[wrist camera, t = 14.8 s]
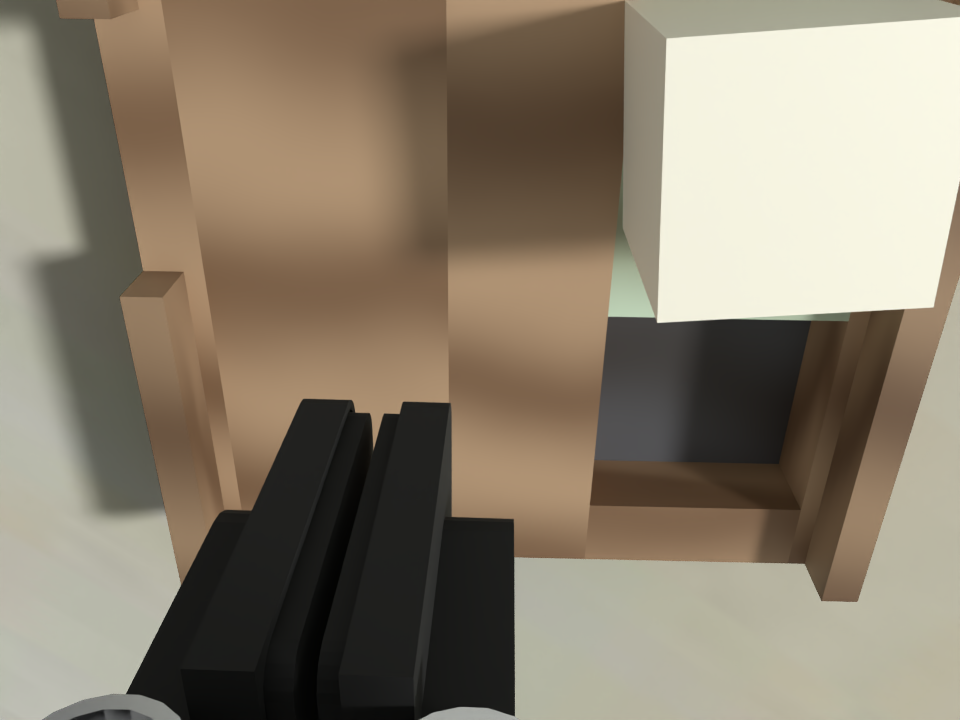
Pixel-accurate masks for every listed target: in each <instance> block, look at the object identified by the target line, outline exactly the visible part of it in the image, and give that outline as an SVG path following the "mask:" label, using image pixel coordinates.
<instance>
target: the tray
mask: <svg viewBox="0 0 960 720" xmlns="http://www.w3.org/2000/svg"><path fill="white" fill-rule="evenodd" d="M941 1H945V2H948V3H952V4H956V5H960V0H941ZM56 3H57V7H58V12H59V17H60V18H61V19H94V23H95V28H96V33H97V38H98V43H99V48H100V53H101V58H102V63H103V69H104V74H105V79H106V84H107V89H108V94H109V99H110V104H111V109H112V114H113V120H114V125H115V130H116V135H117V140H118V145H119V150H120V155H121V160H122V165H123V171H124V176H125V181H126V186H127V191H128V196H129V201H130V206H131V211H132V216H133V222H134V227H135V232H136V237H137V242H138V247H139V252H140V257H141V262H142V267H143V272H142V273H141V274H140V275H139V276H138V277H137V278H136V279H135V280H134V281H133V283H132V284H131V285H130V286H129V287H128V288H127V289H126V290H125V291H124V292H123V293H122V295H121V296H120V302H121V306H122V311H123V316H124V320H125V325H126V330H127V334H128V339H129V344H130V348H131V353H132V358H133V362H134V367H135V372H136V376H137V381H138V386H139V390H140V395H141V400H142V404H143V409H144V414H145V418H146V423H147V428H148V432H149V437H150V442H151V446H152V451H153V456H154V460H155V465H156V470H157V474H158V479H159V484H160V488H161V493H162V498H163V502H164V507H165V512H166V516H167V521H168V526H169V530H170V535H171V540H172V544H173V549H174V554H175V558H176V563H177V568H178V572H179V577H180V582H181V585H182V583H183V581H184V579H185V577H186V575H187V573H188V571H189V569H190V567H191V565H192V563H193V561H194V559H195V557H196V555H197V553H198V551H199V549H200V547H201V545H202V543H203V542H204V540H205V538H206V536H207V534H208V532H209V530H210V528H211V526H212V524H213V522H214V520H215V519H216V517H217V516H218V514H219V513H220V512H222V511H224V510H252V509H253V506H254V504H255V502H256V500H257V497H258V495H259V493H260V491H261V489H262V486H263V484H264V482H265V480H266V478H267V475H268V473H269V471H270V469H271V467H272V464H273V462H274V460H275V458H276V455H277V453H278V451H279V449H280V447H281V444H282V442H283V440H284V438H285V436H286V433H287V431H288V429H289V427H290V424H291V422H292V420H293V418H294V416H295V413H296V411H297V409H298V407H299V405H300V403H301V401H302V400H303V399H336V400H352V401H353V403H354V407H355V413H370V415H371V419H372V430H373V450H374V447H375V443H376V439H377V436H378V432H379V428H380V424H381V421H382V417H383V414H385V413H388V414H400V410H401V406H402V403H403V402H404V401H405V402H440V403H451V411H452V517H470V518H501V519H514V557H528V558H573V559H618V560H663V561H708V562H753V563H798V564H805V566H806V568H807V570H808V572H809V574H810V577H811V579H812V581H813V583H814V585H815V588H816V590H817V592H818V594H819V596H820V599H821V601H843V602H857V601H858V598H859V595H860V592H861V589H862V585H863V582H864V579H865V576H866V573H867V570H868V566H869V563H870V560H871V557H872V554H873V550H874V547H875V544H876V541H877V538H878V534H879V531H880V528H881V525H882V522H883V519H884V515H885V512H886V509H887V506H888V503H889V499H890V496H891V493H892V490H893V487H894V484H895V480H896V477H897V474H898V471H899V468H900V464H901V461H902V458H903V455H904V452H905V448H906V445H907V442H908V439H909V436H910V433H911V429H912V426H913V423H914V420H915V417H916V413H917V410H918V407H919V404H920V401H921V397H922V394H923V391H924V388H925V385H926V382H927V378H928V375H929V372H930V369H931V366H932V362H933V359H934V356H935V353H936V350H937V346H938V343H939V340H940V337H941V334H942V331H943V327H944V324H945V321H946V318H947V315H948V311H949V308H950V305H951V302H952V299H953V295H954V292H955V289H956V286H957V283H958V280H959V276H960V182H959V187H958V192H957V197H956V201H955V206H954V211H953V216H952V221H951V225H950V230H949V235H948V240H947V245H946V250H945V254H944V259H943V264H942V269H941V274H940V278H939V283H938V288H937V293H936V298H935V302H934V307H932V308H914V309H896V310H878V311H861V312H843V313H825V314H807V315H789V316H772V317H754V318H736V319H718V320H700V321H682V322H665V323H657V321H656V318H655V315H654V313H653V310H652V307H651V304H650V302H649V299H648V296H647V293H646V291H645V288H644V285H643V282H642V280H641V277H640V274H639V271H638V269H637V266H636V263H635V260H634V258H633V255H632V252H631V249H630V247H629V244H628V241H627V238H626V236H625V233H624V230H623V139H624V38H625V0H56Z"/></svg>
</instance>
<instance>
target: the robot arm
mask: <svg viewBox="0 0 960 720" xmlns="http://www.w3.org/2000/svg"><path fill="white" fill-rule="evenodd" d="M43 720H519V719H518V718H516V717H515V635H514V519H501V518H470V517H452V411H451V403H440V402H405V401H404V402H403V403H402V406H401V410H400V414H388V413H385V414H383V417H382V421H381V424H380V428H379V432H378V436H377V439H376V443H375V447H374V450H373V430H372V419H371V415H370V413H355V407H354V403H353V401H352V400H336V399H303V400H302V401H301V403H300V405H299V407H298V409H297V411H296V413H295V416H294V418H293V420H292V422H291V424H290V427H289V429H288V431H287V433H286V436H285V438H284V440H283V442H282V444H281V447H280V449H279V451H278V453H277V455H276V458H275V460H274V462H273V464H272V467H271V469H270V471H269V473H268V475H267V478H266V480H265V482H264V484H263V486H262V489H261V491H260V493H259V495H258V497H257V500H256V502H255V504H254V506H253V509H252V510H224V511H222V512H220V513H219V514H218V516H217V517H216V519H215V520H214V522H213V524H212V526H211V528H210V530H209V532H208V534H207V536H206V538H205V540H204V542H203V543H202V545H201V547H200V549H199V551H198V553H197V555H196V557H195V559H194V561H193V563H192V565H191V567H190V569H189V571H188V573H187V575H186V577H185V579H184V581H183V583H182V585H181V587H180V589H179V591H178V593H177V595H176V597H175V599H174V601H173V603H172V604H171V606H170V608H169V610H168V612H167V614H166V616H165V618H164V620H163V622H162V624H161V626H160V628H159V630H158V632H157V634H156V636H155V638H154V640H153V642H152V644H151V646H150V648H149V650H148V652H147V654H146V656H145V658H144V660H143V662H142V664H141V666H140V667H139V669H138V671H137V673H136V675H135V677H134V679H133V681H132V683H131V685H130V687H129V689H128V691H127V693H126V694H110V695H105V696H100V697H95V698H90V699H85V700H82V701H79V702H77V703H75V704H72V705H70V706H67V707H65V708H63V709H60V710H58V711H56V712H53V713H52V714H50V715H49V716H47V717H46V718H44V719H43Z"/></svg>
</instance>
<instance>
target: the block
mask: <svg viewBox="0 0 960 720" xmlns="http://www.w3.org/2000/svg"><path fill="white" fill-rule="evenodd" d="M959 182H960V5H956V4H952V3H948V2H945V1H941V0H625V38H624V139H623V230H624V233H625V236H626V238H627V241H628V244H629V247H630V249H631V252H632V255H633V258H634V260H635V263H636V266H637V269H638V271H639V274H640V277H641V280H642V282H643V285H644V288H645V291H646V293H647V296H648V299H649V302H650V304H651V307H652V310H653V313H654V315H655V318H656V321H657V323H665V322H682V321H700V320H718V319H736V318H754V317H772V316H789V315H807V314H825V313H843V312H861V311H878V310H896V309H914V308H932V307H934V302H935V298H936V293H937V288H938V283H939V278H940V274H941V269H942V264H943V259H944V254H945V250H946V245H947V240H948V235H949V230H950V225H951V221H952V216H953V211H954V206H955V201H956V197H957V192H958V187H959Z"/></svg>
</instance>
